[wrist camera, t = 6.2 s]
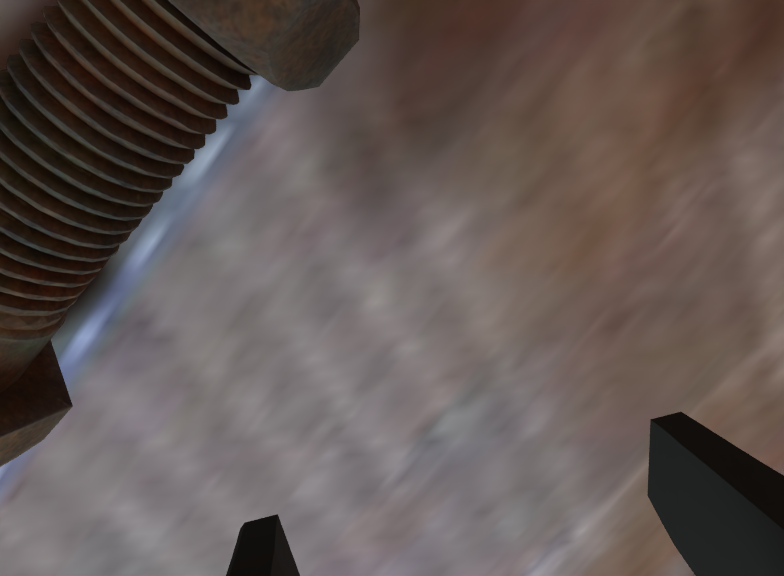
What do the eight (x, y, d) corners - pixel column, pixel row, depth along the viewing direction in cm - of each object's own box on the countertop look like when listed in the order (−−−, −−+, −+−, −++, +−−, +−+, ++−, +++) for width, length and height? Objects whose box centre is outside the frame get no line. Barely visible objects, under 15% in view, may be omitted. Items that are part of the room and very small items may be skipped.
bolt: (397, -192, 13) (-6, 315, 16) (217, -499, 9) (-275, 255, 12) (591, -96, 10) (48, 508, 13) (449, -494, 6) (-290, 515, 9)
